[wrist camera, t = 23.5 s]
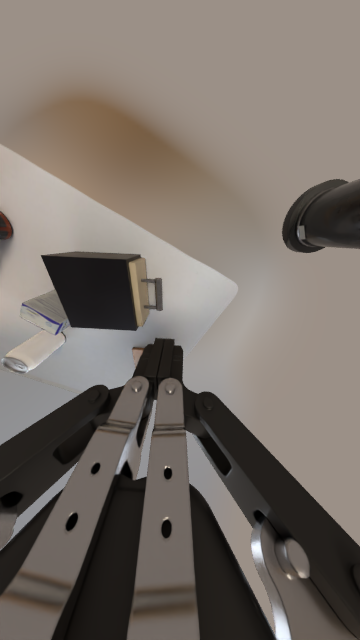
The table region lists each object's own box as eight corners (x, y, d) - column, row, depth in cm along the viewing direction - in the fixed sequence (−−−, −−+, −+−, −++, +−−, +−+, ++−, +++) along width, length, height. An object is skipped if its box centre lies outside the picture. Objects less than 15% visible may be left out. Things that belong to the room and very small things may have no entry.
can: (44, 323, 41) (-3, 351, 31) (67, 332, 43) (29, 363, 32) (43, 338, 44) (0, 368, 34) (65, 346, 46) (29, 378, 35)
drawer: (164, 259, 30) (159, 263, 24) (165, 313, 37) (161, 327, 31) (83, 255, 31) (59, 259, 25) (99, 310, 37) (83, 323, 31)
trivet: (164, 348, 45) (163, 351, 44) (164, 370, 50) (164, 372, 49) (133, 347, 45) (131, 349, 44) (136, 368, 50) (135, 370, 49)
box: (50, 301, 38) (17, 316, 30) (55, 289, 36) (21, 302, 28) (79, 318, 40) (54, 336, 33) (84, 307, 38) (60, 324, 31)
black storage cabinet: (140, 254, 31) (125, 259, 23) (146, 313, 38) (136, 330, 31) (75, 251, 31) (40, 255, 24) (93, 310, 38) (71, 327, 31)
